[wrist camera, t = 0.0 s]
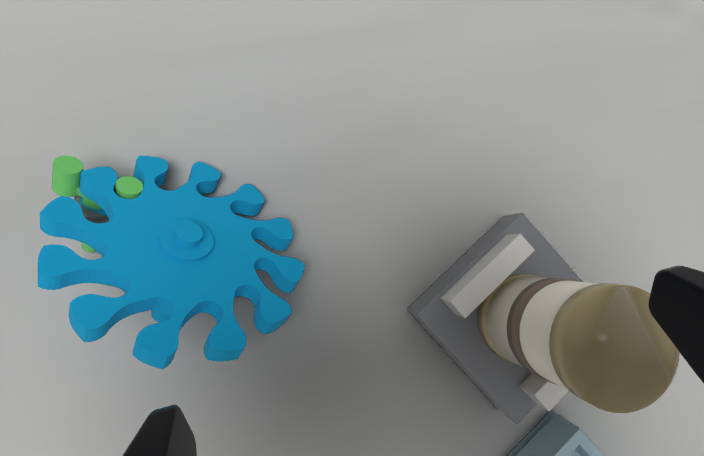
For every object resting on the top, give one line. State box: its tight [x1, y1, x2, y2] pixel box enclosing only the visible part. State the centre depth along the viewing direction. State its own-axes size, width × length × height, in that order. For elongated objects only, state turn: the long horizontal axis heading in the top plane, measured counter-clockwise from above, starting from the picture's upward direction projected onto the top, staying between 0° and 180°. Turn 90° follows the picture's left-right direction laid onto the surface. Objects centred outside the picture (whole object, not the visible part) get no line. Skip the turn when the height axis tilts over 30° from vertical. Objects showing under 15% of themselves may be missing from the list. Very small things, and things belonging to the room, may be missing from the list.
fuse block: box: [408, 213, 582, 424], centre depth 22 cm, size 7×7×3 cm
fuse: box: [478, 274, 679, 413], centre depth 19 cm, size 4×4×7 cm
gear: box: [38, 156, 305, 369], centre depth 20 cm, size 11×6×10 cm
